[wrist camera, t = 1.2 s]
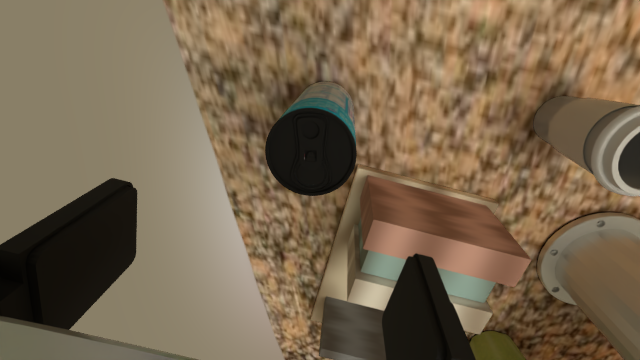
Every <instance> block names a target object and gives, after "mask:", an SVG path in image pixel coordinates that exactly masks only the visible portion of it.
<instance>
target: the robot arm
mask: <svg viewBox="0 0 640 360" xmlns="http://www.w3.org/2000/svg"><path fill="white" fill-rule="evenodd" d="M136 228H137V190H136V188H133V185H132V183H130V182H126V181H122V180H118V179H115V178H111V179H109V180H107V181H106V182H104V183H102V184H101V185H99V186H97V187H96V188H94V189H92V190H91V191H89V192H88V193H86V194H84V195H82V196H81V197H79V198H77V199H76V200H74V201H72V202H71V203H69V204H67V205H66V206H64V207H62V208H61V209H59V210H57V211H56V212H54V213H52V214H51V215H49V216H47V217H46V218H44V219H42V220H41V221H39V222H37V223H36V224H34V225H33V226H31V227H29V228H28V229H26V230H24V231H23V232H21V233H19V234H18V235H16V236H14V237H12V238H11V239H9V240H7V241H6V242H4V243H2V244H1V245H0V360H198V359H193V358H189V357H185V356H180V355H176V354H172V353H168V352H163V351H159V350H155V349H150V348H146V347H141V346H137V345H132V344H128V343H124V342H119V341H115V340H111V339H105V338H102V337H97V336H93V335H88V334H84V333H80V332H75V331H71V330H69V329H70V328H71V327H72V326H73V325H74V324H75V323H76V322H77V321H78V319H80V318H81V317H82V316H83V315H84V313H85V312H86V311H87V310H88V309H89V308H90V307H91V306H92V305H93V304H94V303H95V302H96V301H97V300H98V299H99V298H100V296H101V295H102V294H103V293H104V292H105V291H106V290H107V289H108V288H109V287H110V286H111V285H112V284H113V283H114V282H115V281H116V280H117V279H118V277H119V276H120V275H121V274H122V273H123V272H124V271H125V270H126V269H127V268H128V267H129V266H130V265H131V264H132V262H133V260H134V258H135V255H136ZM537 273H538V276H539V279H540V281H541V283H542V284H543V286H544V287H545V288H546V290H547V291H548V292H549V293H550V294H551V295H553V296H554V297H555V298H557V299H558V300H561V301H563V302H565V303H569V304H573V305H578V306H579V307H580V308H581V310H582V311H583V312H584V313H585V314H586V315H587V317H588V318H589V319H590V320H591V321H592V322H593V324H594V325H595V326H596V327H597V328H598V329H599V331H600V332H601V333H602V334H603V335H604V336H605V338H606V339H607V340H608V341H609V342H610V343H611V345H612V346H613V347H614V348H615V349H616V350H617V352H618V353H619V354H620V355H621V356H622V358H623V359H624V360H640V220H639V219H637V218H635V217H633V216H630V215H626V214H623V213H613V212H607V213H597V214H593V215H588V216H585V217H582V218H579V219H577V220H574V221H573V222H571V223H569V224H567V225H565V226H564V227H562V228H561V229H560V230H558V231H557V232H556V233H555V234H554V235H553V236H552V237H551V238H550V239H549V240H548V241H547V242H546V244H545V245H544V247H543V248H542V250H541V252H540V255H539V257H538V262H537ZM382 329H383V337H384V345H385V353H386V360H476V359H475V356H474V354H473V351H472V349H471V346H470V344H469V341H468V339H467V337H466V334H465V332H464V329H463V327H462V324H461V322H460V319H459V317H458V314H457V312H456V309H455V307H454V305H453V303H451V301H450V299H449V296H448V294H447V291H446V289H445V286H444V284H443V281H442V279H441V276H440V274H439V271H438V269H437V266H436V264H435V261H434V259H433V258H432V257H429V256H425V255H421V254H417V253H416V254H414V255H413V257H412V256H408V258H407V259H406V262H405V264H404V266H403V269H402V271H401V273H400V275H399V278H398V280H397V282H396V285H395V287H394V289H393V292H392V294H391V296H390V299H389V301H388V303H387V306H386V308H385V310H384V313H383V316H382Z"/></svg>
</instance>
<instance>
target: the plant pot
mask: <svg viewBox="0 0 640 360" xmlns="http://www.w3.org/2000/svg"><path fill="white" fill-rule="evenodd" d="M469 344H470V346H471V349H472V351H473V354H474V356H475V359H476V360H526V358H525V357H524V356H523V354H522V353H521V352H520V350H519V349H518V347H517V346H516V345H515V343H514V342H513V341H512V339H511V338H510V337H509V336H508V335H506V334H501V333H498V332H496V331H486V332H482V333H481V334H480V335H479V334H477V335H475V336H474V337H473V338H472V339H471V341H470V343H469Z"/></svg>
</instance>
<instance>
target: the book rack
mask: <svg viewBox="0 0 640 360" xmlns="http://www.w3.org/2000/svg"><path fill="white" fill-rule="evenodd" d="M498 206H499V204H498V203H497V202H496V200H494V199H490V198H487V197H483V196H479V195H475V194H471V193H467V192H463V191H460V190H456V189H452V188H448V187H444V186H440V185H436V184H433V183H429V182H425V181H421V180H417V179H413V178H409V177H406V176H402V175H398V174H394V173H390V172H386V171H382V170H378V169H375V168H371V167H367V166H363V165H359V164H358V166H357V169H356V172H355V176H354V179H353V182H352V185H351V188H350V192H349V195H348V198H347V201H346V204H345V208H344V211H343V214H342V217H341V220H340V224H339V227H338V230H337V233H336V237H335V240H334V243H333V246H332V249H331V253H330V256H329V259H328V262H327V265H326V269H325V272H324V275H323V278H322V282H321V285H320V288H319V291H318V294H317V298H316V301H315V304H314V307H313V310H312V314H311V320H312V321H316V322H320V323H322V328H321V339H320V349H319V356H321V357H325V358H329V359H333V360H386V353H385V345H384V337H383V329H382V316H383V313H384V310H385V308H386V306H387V303H388V301H389V299H390V296H391V294H392V292H393V289H394V287H395V285H396V282H397V280H398V278H399V275H400V273H401V271H402V269H403V266H404V264H405V262H406V259H407V258H408V256H412V257H413V255H414V254H416V253H417V254H421V255H425V256H429V257H432V258H433V259H434V261H435V264H436V266H437V269H438V271H439V274H440V276H441V279H442V281H443V284H444V286H445V289H446V291H447V294H448V296H449V299H450V301H451V303H453V305H454V307H455V309H456V312H457V314H458V317H459V319H460V322H461V324H462V327H463V329H464V331H467V332H471V333H475V334H479V335H480V334H481V332H482V330H483V329H484V327H485V325H486V324H487V322H488V321H489V319H490V317H491V316H492V314H493V312H492V310H491V309H490V307H489V305H488V303H487V301H486V299H487V297H488V296H489V294H490V292H491V290H492V289H493V287H494V285H495V284H496V283H500V284H504V285H508V286H512V287H515V286H516V284H517V283H518V281H519V279H520V278H521V276H522V275H523V273H524V271H525V270H526V268H527V266H528V265H529V263H530V262H531V259H530V257H529V256H528V255H527V254H526V253H525V251H524V250H523V249H522V248H521V247H520V245H519V244H518V243H517V242H516V240H515V239H514V238H513V237H512V236H511V234H510V233H509V232H508V231H507V230H506V228H505V227H504V226H503V225H502V224H501V222H500V221H499V220H498V219H497V218H496V216H495V215H494V213H495V211H496V210H497V208H498Z"/></svg>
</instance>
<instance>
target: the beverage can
mask: <svg viewBox="0 0 640 360" xmlns="http://www.w3.org/2000/svg"><path fill="white" fill-rule="evenodd" d="M265 153H266V160H267V164H268V166H269V169H270V171H271V173H272V174H273V176H274V177H275V178H276V179H277V180H278V182H279V183H281V184H282V185H283V186H284V187H286V188H287V189H289V190H291V191H293V192H295V193H298V194H302V195H309V196H317V195H323V194H327V193H330V192H332V191H334V190H336V189H338V188H339V187H340V186H342V185H343V184H344V183H345V182H346V181H347V179H348V178H349V177H350V175H351V173H352V172H353V169H354V166H355V163H356V137H355V121H354V105H353V102H352V99H351V97H350V95H349V94H348V92H347V91H346V90H345V89H344V88H342V87H341V86H340V85H338V84H335V83H332V82H318V83H314V84H312V85H311V86H309V87H308V88H306V89H305V90H304V91H303V93H302V94H301V95H300V96H299V97H298V98H297V99H296V100H295V102H294V103H293V104H292V105H291V106H290V107H289V108H288V109H287V111H286V112H285V113H284V114H283V115H282V116H281V118H280V119H279V120H278V121H277V122H276V123H275V125H274V126H273V127H272V129H271V131H270V133H269V135H268V137H267V141H266V148H265Z"/></svg>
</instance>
